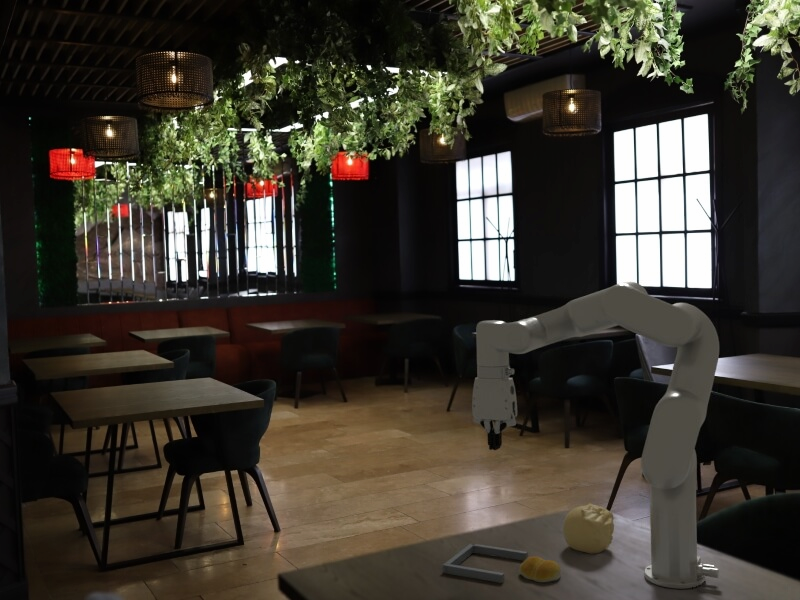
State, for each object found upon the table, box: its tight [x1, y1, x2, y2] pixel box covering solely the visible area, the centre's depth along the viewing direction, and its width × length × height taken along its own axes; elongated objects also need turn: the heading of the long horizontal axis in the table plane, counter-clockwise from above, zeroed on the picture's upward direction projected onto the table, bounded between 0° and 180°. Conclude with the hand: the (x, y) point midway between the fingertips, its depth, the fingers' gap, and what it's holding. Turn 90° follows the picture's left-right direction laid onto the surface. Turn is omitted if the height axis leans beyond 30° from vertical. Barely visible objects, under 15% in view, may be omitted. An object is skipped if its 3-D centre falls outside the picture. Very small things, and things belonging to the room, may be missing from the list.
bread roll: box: [518, 555, 562, 583], centre depth 185 cm, size 8×9×4 cm
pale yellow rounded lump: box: [562, 503, 615, 554], centre depth 200 cm, size 12×12×11 cm
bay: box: [442, 543, 529, 584], centre depth 192 cm, size 15×15×2 cm
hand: (494, 448), depth 198 cm, fingers closed
